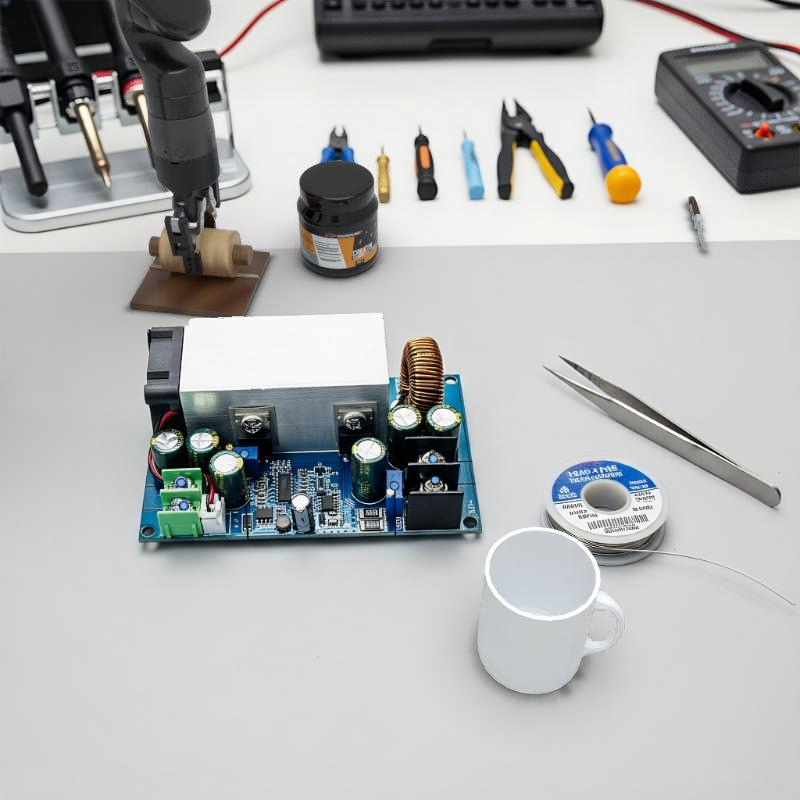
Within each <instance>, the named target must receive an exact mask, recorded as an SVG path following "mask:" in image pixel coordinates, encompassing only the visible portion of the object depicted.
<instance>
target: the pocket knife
mask: <svg viewBox="0 0 800 800" xmlns="http://www.w3.org/2000/svg"><path fill="white" fill-rule="evenodd" d="M687 204H688V205H687V206H688V208H689V210H690V213H691V220H692V221H693V224H694V225H693V226H694V230H696V231H697V235H698V238H699V242H700V245H701V248H702V250H704V251H706V243H705V238H704V232H703V226H702V225H703V224H702V223H703V219H702V215H701V212H700V207H699V205H698V201H697V199H696V197H695V196H693V195H688V197H687Z"/></svg>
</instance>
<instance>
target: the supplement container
mask: <svg viewBox="0 0 800 800" xmlns="http://www.w3.org/2000/svg"><path fill="white" fill-rule="evenodd" d="M298 186H299V187H298V188H299V196H298V198H297V201H296V211H297V215H298V216H297V217H298V228H299V229H298V230H299V242H300V249H299V251H300V257H301V259H302V261H303V262H304V264H305V265H306V266H307V267H308V268H309V269H310V270H312V271H314V272H316V273H318V274H320V275H324V276H328V277H339V278H340V277H348V276H354V275H357V274H360V273H362V272H364V271H366V270H368V269H369V268H370V267H371V266H372V265H373V264H374V263H375V262H376V261H377V258H378V255H379V250H380V249H379V228H378V227H379V225H378V224H379V220H378V219H379V216H378V214H379V213H378V211H379V198H378V196H377V194H376V193H375V177H374V175H373V172H372V171H370V170H369V169H368V168H367V167H365V166H363V165H362V164H359V163H357V162H353V161H347V160H328V161H323V162H319V163H316V164H313V165H312V166H309V167H308V168H307V169H305V170H304V171H303V172H302V173H301V175H300V176H299V180H298Z"/></svg>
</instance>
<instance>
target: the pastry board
mask: <svg viewBox="0 0 800 800" xmlns="http://www.w3.org/2000/svg"><path fill="white" fill-rule="evenodd" d="M270 259H271V253H270V251H262V250H253V259H252V263H251V265H250V266H245V265H240V267H239V270H238V273H237V275H236V276H235V277H234V278H230V277H220V276H210V275H201V276H200V277H196V276H188V275H186V274H185V273H180V272H170V271H164V270H163V269H162V267H161V264H160V260H159V257H154V260H153V261H152V263H151V264H150V265H149V269H148V270H147V272H146V274H145V276H144V277H143V279H142V280H141V283H140V284H139V286H138V288H137V289H136V291H135V293H134V294H133V296H132V298H131V300H130V302H129V305H130V306H129V307H130V309H131V310H137V311H145V312H157V313H165V314H176V315H187V316H196V317H205V318H214V317H232V316H245V317H246V315H247V313H248V310H249V308H250V306H251V304H252V301H253V299H254V297H255V294H256V292H257V289H258V288H259V285H260V283H261V280H262V278H263V276H264V273H265V271H266V269H267V266H268V265H269V262H270Z"/></svg>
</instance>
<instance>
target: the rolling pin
mask: <svg viewBox="0 0 800 800" xmlns="http://www.w3.org/2000/svg"><path fill="white" fill-rule="evenodd" d="M189 227H195V226H193V225H190V226H189ZM191 237H192V241H193V235H192V234H191ZM253 251H254V249H253V246H252V245H251V244H242V237H241V235H240V232H239V231H238V230H235V229H225V228H216V229H215V228H204V232H203V233H202V234H200V253H201V259H202V266H203V273H202V275H210V276H220V277H230V278H234V277H235V276H236V275H237V273H238V270H239V267H240V265H245V266H250V265H251V263H252V259H253ZM148 254H149V256H150V257H154V258H156V257H159V260H160V264H161V267H162V269H163V270H164V271H170V272H180V273H185V270H184V264H183V258H182V256H173V254H172V250H171V247H170V243H169V239H168V235H167V231H166V227H165V226H164V227H163V228H162V231H161V233H160V236H155V235H152V236H150V238H149V241H148Z"/></svg>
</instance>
